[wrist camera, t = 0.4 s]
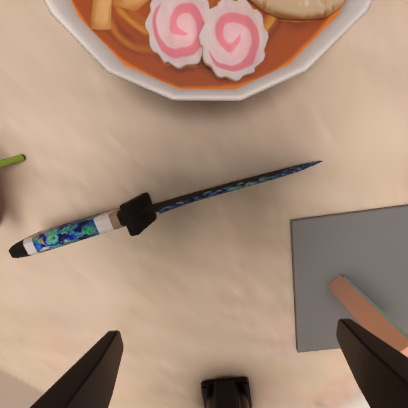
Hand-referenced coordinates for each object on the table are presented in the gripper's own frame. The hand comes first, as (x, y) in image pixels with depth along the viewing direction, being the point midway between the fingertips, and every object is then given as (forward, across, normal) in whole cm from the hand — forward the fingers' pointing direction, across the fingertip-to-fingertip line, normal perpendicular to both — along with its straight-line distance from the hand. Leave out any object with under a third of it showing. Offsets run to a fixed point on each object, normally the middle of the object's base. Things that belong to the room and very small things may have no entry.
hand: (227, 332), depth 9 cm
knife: (+16, +4, -1) cm, 16 cm away
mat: (+15, -18, +10) cm, 25 cm away
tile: (+14, -16, +12) cm, 25 cm away
